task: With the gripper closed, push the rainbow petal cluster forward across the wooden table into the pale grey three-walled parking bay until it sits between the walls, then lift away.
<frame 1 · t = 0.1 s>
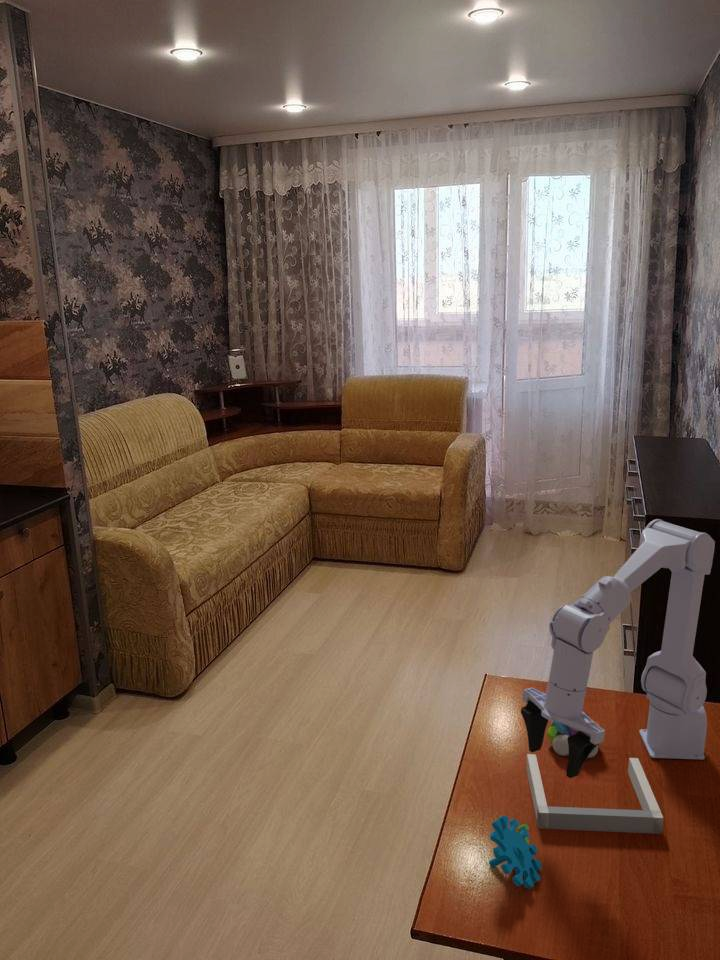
hand: (553, 762, 118), 11 cm above the table, tool pointing down, fingers open, 7 cm apart
teal knobby piece: (515, 870, 111), on the table
rainbow petal cluster: (573, 747, 138), on the table
parking bay: (588, 796, 125), on the table
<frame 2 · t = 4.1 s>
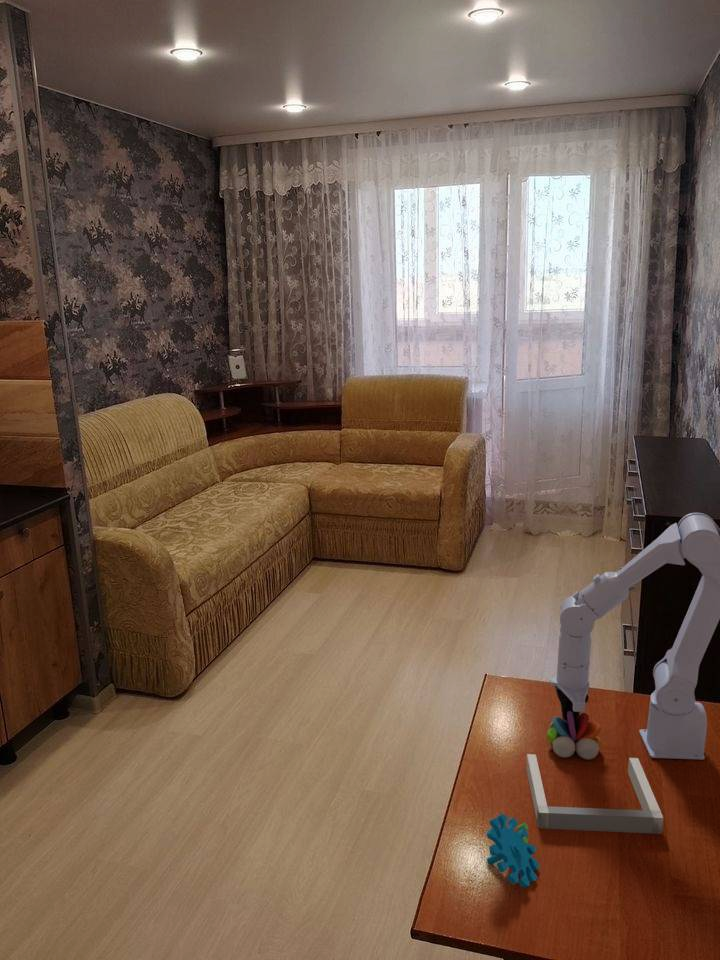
hand: (569, 723, 142), 2 cm above the table, tool pointing down, fingers closed
rainbow petal cluster: (572, 748, 138), on the table, touching gripper
everything else where it was.
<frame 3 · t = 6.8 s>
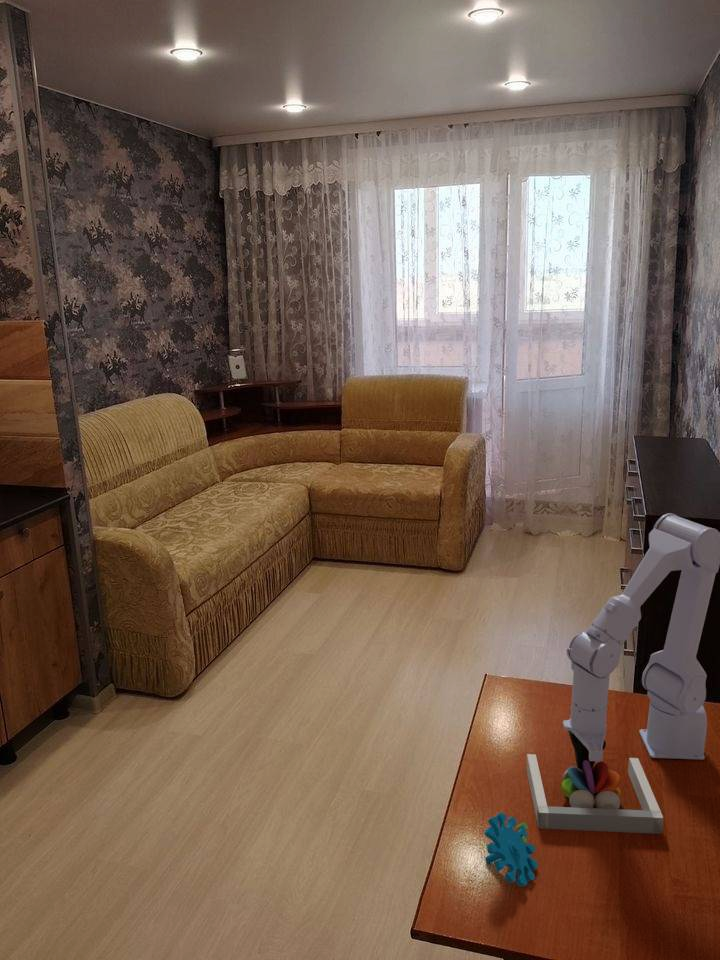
hand: (584, 770, 129), 2 cm above the table, tool pointing down, fingers closed
rainbow petal cluster: (590, 801, 124), on the table
everything else where it was.
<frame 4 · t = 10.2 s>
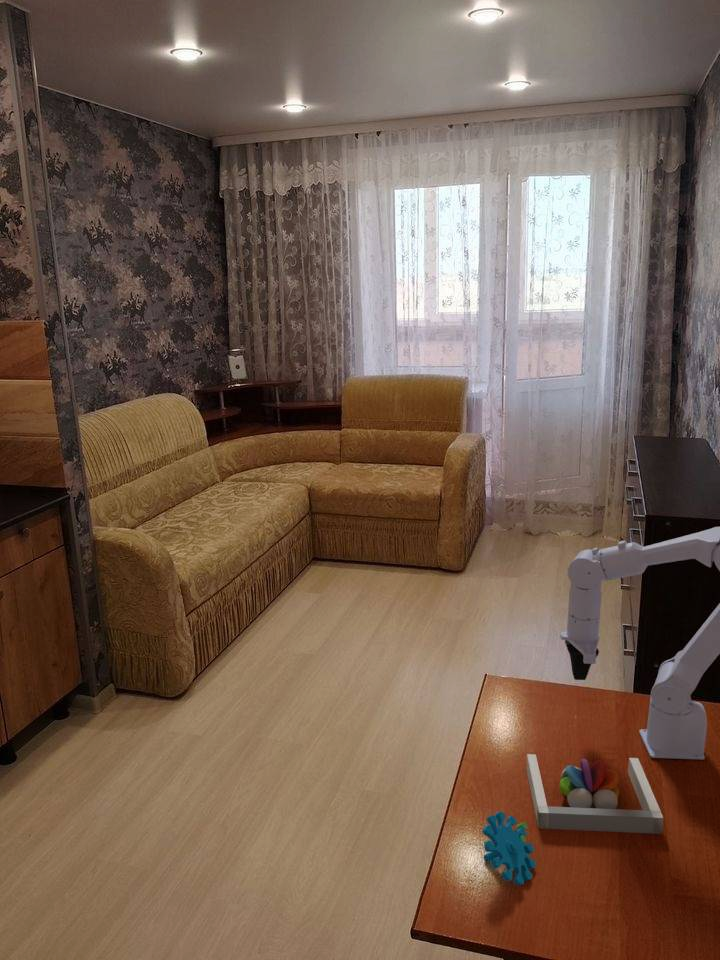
hand: (579, 678, 143), 9 cm above the table, tool pointing down, fingers closed
at the end: rainbow petal cluster inside the target area on the parking bay (0.5 cm from its centre), point 0.0 cm above the parking bay's base; rainbow petal cluster tilted 0° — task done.
